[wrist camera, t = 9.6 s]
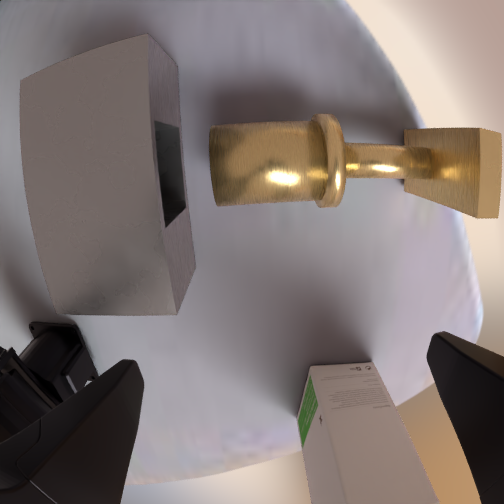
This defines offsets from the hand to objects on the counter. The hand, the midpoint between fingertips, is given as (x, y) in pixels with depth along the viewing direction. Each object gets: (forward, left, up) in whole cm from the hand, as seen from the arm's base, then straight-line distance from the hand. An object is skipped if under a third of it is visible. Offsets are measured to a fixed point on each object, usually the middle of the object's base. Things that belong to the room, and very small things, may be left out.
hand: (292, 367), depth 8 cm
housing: (-9, +5, -13) cm, 17 cm away
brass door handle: (+5, +5, -13) cm, 14 cm away
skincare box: (+6, -16, -13) cm, 22 cm away
